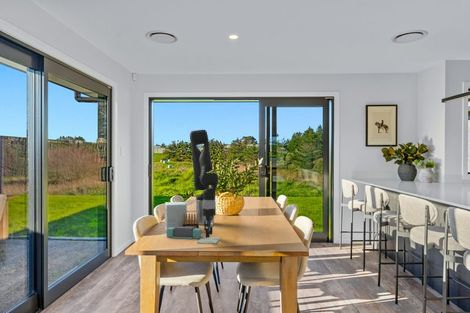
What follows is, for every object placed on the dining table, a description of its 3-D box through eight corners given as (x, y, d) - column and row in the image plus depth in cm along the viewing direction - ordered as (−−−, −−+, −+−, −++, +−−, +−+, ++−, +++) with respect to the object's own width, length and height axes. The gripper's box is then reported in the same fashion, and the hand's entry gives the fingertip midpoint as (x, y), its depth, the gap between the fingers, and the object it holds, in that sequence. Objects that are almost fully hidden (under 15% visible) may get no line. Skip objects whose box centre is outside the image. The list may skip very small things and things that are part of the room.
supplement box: (183, 226, 226) (183, 201, 226) (186, 230, 214) (187, 204, 214) (164, 227, 222) (164, 202, 222) (166, 232, 210) (166, 205, 210)
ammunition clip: (182, 232, 210) (182, 213, 210) (182, 231, 212) (182, 213, 212) (198, 231, 211) (198, 213, 211) (198, 231, 213) (198, 212, 213)
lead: (176, 236, 200) (176, 226, 200) (193, 236, 199) (193, 227, 199) (174, 237, 196) (174, 227, 196) (191, 238, 195) (192, 228, 195)
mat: (202, 237, 196) (202, 236, 196) (220, 238, 194) (220, 237, 194) (197, 243, 184) (197, 242, 184) (216, 244, 182) (216, 243, 182)
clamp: (170, 234, 203) (170, 226, 203) (201, 236, 200) (201, 228, 200) (165, 237, 195) (165, 229, 195) (198, 239, 192) (198, 230, 192)
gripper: (205, 205, 197) (205, 232, 197) (199, 209, 182) (199, 238, 182) (218, 205, 195) (217, 233, 195) (212, 209, 181) (212, 239, 181)
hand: (209, 235), depth 189 cm, fingers open, 6 cm apart
